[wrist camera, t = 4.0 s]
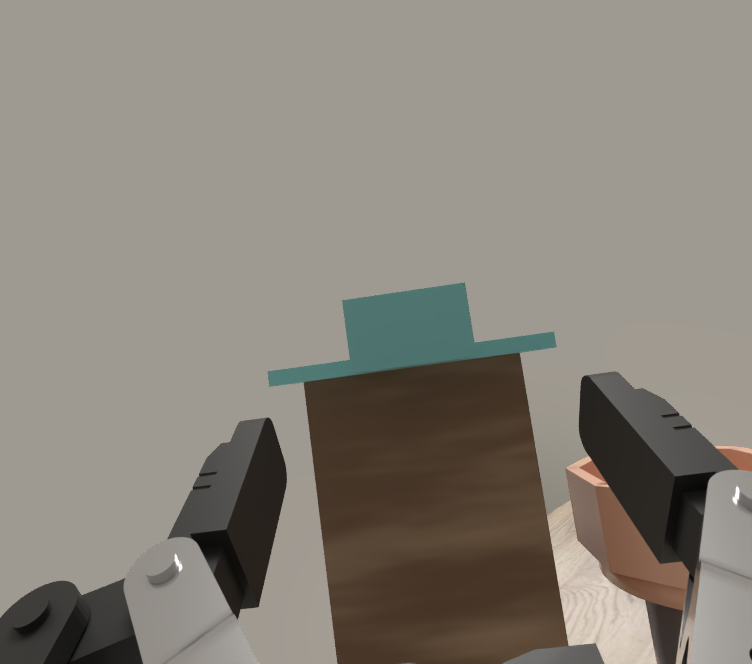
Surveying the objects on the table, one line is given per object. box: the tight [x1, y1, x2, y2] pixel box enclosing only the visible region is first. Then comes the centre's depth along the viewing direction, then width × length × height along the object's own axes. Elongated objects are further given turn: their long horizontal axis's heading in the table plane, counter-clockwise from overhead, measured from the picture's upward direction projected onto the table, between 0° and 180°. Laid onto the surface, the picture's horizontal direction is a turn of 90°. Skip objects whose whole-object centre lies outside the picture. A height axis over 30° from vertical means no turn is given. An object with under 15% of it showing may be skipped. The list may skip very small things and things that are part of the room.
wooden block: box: [304, 352, 568, 664], centre depth 29 cm, size 12×12×30 cm
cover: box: [268, 283, 556, 386], centre depth 26 cm, size 24×15×2 cm, turn 176°
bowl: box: [566, 446, 752, 664], centre depth 28 cm, size 12×12×22 cm
